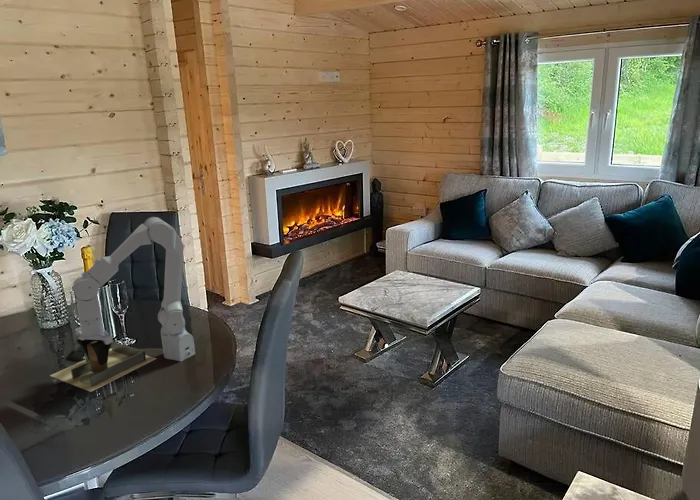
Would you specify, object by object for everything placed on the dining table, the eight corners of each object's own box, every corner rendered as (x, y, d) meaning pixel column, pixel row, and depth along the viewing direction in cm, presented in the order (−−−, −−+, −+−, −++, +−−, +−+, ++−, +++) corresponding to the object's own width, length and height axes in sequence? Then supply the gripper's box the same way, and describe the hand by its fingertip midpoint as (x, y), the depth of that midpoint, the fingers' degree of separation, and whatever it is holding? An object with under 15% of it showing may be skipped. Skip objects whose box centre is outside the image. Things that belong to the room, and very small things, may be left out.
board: (157, 361, 161) (156, 357, 161) (91, 395, 143) (90, 390, 143) (116, 348, 171) (115, 345, 171) (50, 378, 153) (49, 374, 153)
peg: (111, 367, 153) (106, 342, 151) (97, 374, 149) (92, 348, 147) (101, 364, 155) (97, 339, 153) (88, 370, 151) (83, 345, 149)
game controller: (83, 362, 161) (68, 349, 161) (74, 373, 163) (60, 359, 162) (103, 349, 170) (90, 336, 170) (95, 358, 172) (82, 346, 172)
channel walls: (146, 360, 160) (144, 351, 159) (92, 386, 145) (90, 376, 145) (113, 349, 168) (112, 341, 167) (60, 374, 153) (58, 364, 153)
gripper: (62, 318, 148) (70, 362, 152) (93, 327, 141) (101, 373, 145) (85, 310, 154) (92, 352, 158) (116, 318, 147) (123, 362, 150)
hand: (98, 361), depth 152 cm, fingers closed on peg, 4 cm apart
